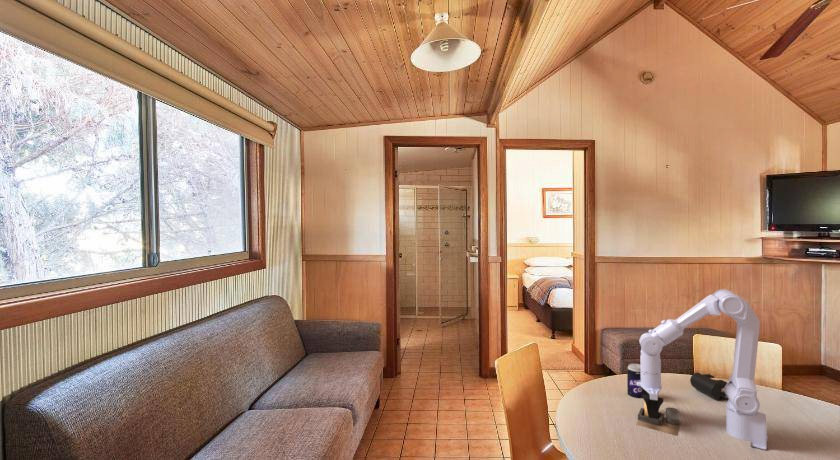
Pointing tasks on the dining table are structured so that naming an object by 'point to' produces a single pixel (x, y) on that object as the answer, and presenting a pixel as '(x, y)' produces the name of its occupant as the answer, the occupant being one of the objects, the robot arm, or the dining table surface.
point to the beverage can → (634, 380)
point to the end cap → (709, 386)
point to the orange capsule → (645, 410)
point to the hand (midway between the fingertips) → (651, 412)
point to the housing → (661, 421)
